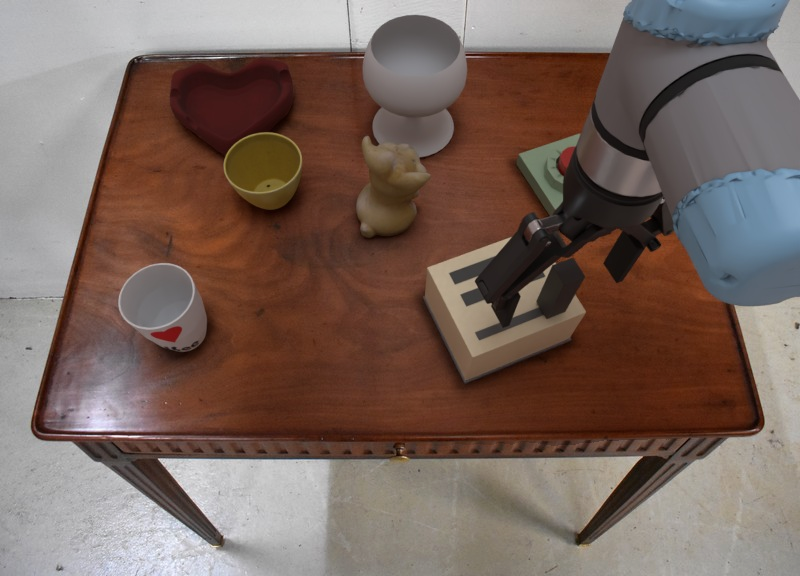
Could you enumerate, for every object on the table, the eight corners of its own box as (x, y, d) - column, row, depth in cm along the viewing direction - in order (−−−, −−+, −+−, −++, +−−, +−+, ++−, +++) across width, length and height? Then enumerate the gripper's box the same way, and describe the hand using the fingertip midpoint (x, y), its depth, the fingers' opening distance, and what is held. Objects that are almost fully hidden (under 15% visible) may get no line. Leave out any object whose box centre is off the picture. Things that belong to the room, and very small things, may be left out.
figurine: (431, 197, 83) (438, 119, 70) (424, 248, 79) (430, 176, 66) (362, 189, 83) (355, 111, 70) (352, 240, 79) (343, 167, 66)
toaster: (570, 341, 73) (589, 312, 65) (464, 384, 70) (471, 359, 63) (522, 260, 78) (535, 226, 71) (422, 298, 75) (424, 266, 68)
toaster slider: (565, 311, 65) (585, 276, 58) (546, 319, 65) (564, 284, 58) (554, 294, 66) (573, 257, 59) (535, 301, 66) (552, 265, 59)
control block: (620, 204, 82) (630, 186, 79) (557, 227, 80) (564, 210, 77) (575, 143, 87) (583, 124, 84) (515, 163, 86) (520, 144, 82)
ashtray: (174, 171, 85) (162, 147, 80) (180, 89, 92) (169, 63, 88) (299, 159, 86) (294, 134, 82) (294, 79, 94) (289, 53, 89)
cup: (141, 355, 72) (104, 320, 63) (169, 297, 75) (138, 256, 66) (203, 370, 71) (176, 336, 62) (229, 310, 74) (206, 271, 66)
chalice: (462, 97, 92) (473, 12, 78) (456, 168, 85) (467, 88, 72) (372, 90, 92) (368, 4, 79) (360, 160, 86) (353, 79, 73)
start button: (596, 174, 80) (599, 165, 79) (567, 184, 79) (571, 175, 78) (579, 151, 82) (582, 142, 81) (551, 160, 81) (554, 151, 80)
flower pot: (323, 187, 84) (317, 153, 77) (278, 237, 80) (268, 205, 73) (268, 156, 86) (257, 121, 80) (221, 203, 82) (207, 170, 76)
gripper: (731, 80, 48) (637, 228, 67) (450, 174, 43) (435, 304, 62) (794, 146, 45) (677, 282, 63) (497, 255, 40) (466, 367, 59)
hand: (557, 293), depth 63 cm, fingers open, 13 cm apart
